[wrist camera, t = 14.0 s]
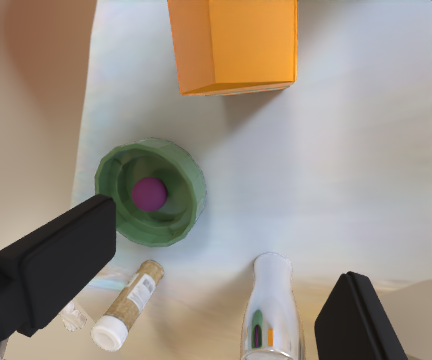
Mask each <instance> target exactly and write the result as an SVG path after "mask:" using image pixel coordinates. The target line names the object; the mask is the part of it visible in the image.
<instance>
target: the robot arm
mask: <svg viewBox="0 0 432 360" xmlns="http://www.w3.org/2000/svg"><path fill="white" fill-rule="evenodd" d="M115 252H116V203H115V202H114V200H113V198H112V197H109V196H106V195H103V194H96V195H95V196H93V197H91V198H89V199H88V200H86V201H84V202H83V203H81V204H79V205H77V206H76V207H74V208H72V209H71V210H69V211H67V212H65V213H64V214H62V215H60V216H59V217H57V218H55V219H54V220H52V221H50V222H48V223H47V224H45V225H43V226H41V227H40V228H38V229H36V230H35V231H33V232H31V233H30V234H28V235H26V236H24V237H23V238H21V239H19V240H17V241H16V242H14V243H12V244H11V245H9V246H7V247H5V248H4V249H2V250H0V360H5V359H3V355H4V352H5V349H6V345H7V342H8V338H9V336H10V335H11V334H12V333H14V332H15V331H16V330H17V332H18V333H21V334H23V335H25V336H28V337H31V336H32V335H33V334H34V333H35V332H36V331H37V330H38V329H43V328H44V327H46V326H47V325H48V324H49V323H50V322H51V321H52V319H54V318H55V317H56V316H57V315H58V313H59V312H60V311H61V310H62V309H63V308H64V307H65V306H66V305H67V304H68V303H69V302H70V301H71V300H72V299H73V298H74V297H75V296H76V295H77V294H78V293H79V292H80V291H81V290H82V289H83V288H84V287H85V286H86V285H87V284H88V283H89V282H90V281H91V280H92V279H93V278H94V277H95V276H96V275H97V273H98V272H99V271H100V270H101V269H102V268H103V267H104V266H105V265H106V264H107V263H108V262H109V261H110V260H111V259H112V258H113V257H114V255H115ZM314 330H315V337H316V344H317V350H318V357H319V360H408V358H407V356H406V354H405V352H404V350H403V348H402V346H401V344H400V342H399V340H398V338H397V336H396V333H395V331H394V330H393V327H392V325H391V323H390V321H389V319H388V317H387V315H386V313H385V311H384V309H383V306H382V304H381V303H380V300H379V298H378V296H377V294H376V292H375V290H374V288H373V286H372V284H371V282H370V280H369V278H368V277H367V276H364V275H361V274H357V273H354V272H351V271H349V272H347V273H346V274H341V276H340V277H339V279H338V281H337V283H336V285H335V286H334V288H333V290H332V292H331V294H330V295H329V297H328V299H327V301H326V303H325V304H324V306H323V308H322V310H321V312H320V313H319V315H318V317H317V319H316V321H315V326H314Z"/></svg>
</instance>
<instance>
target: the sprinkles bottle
mask: <svg viewBox="0 0 432 360" xmlns="http://www.w3.org/2000/svg"><path fill="white" fill-rule="evenodd" d="M163 275H164V271H163V269H162V267H161V266H160V265H159V264H158V263H157V262H155V261H152V260H148V261H145V262H143V263H142V265H141V267H140V268H139V270H138V271H137V272H136V274H135V275H134V276H133V277H132V278H131V280H130V281H129V282H128V284H127V285H126V286H125V287H124V289H123V290H122V292H121V293H120V294H119V296H118V297H117V299H116V300H115V301H114V302H113V304H112V305H111V307H110V308H109V309H108V311H107V312H106V313H105V314H104V315H103V316H102V317H100V318H99V320H98V321H97V322H96V324H95V325H94V326H93V328H92V329H91V337H92V340H93V341H94V342H95V343H96V344H97V345H98V346H99V347H100V348H102V349H104V350H107V351H117V350H118V349H119V348H120V347H121V346H122V344H123V343H124V341H125V339H126V338H127V335H128V332H129V330H130V329H131V327H132V325H133V324H134V322H135V320H136V319H137V317H138V316H139V315H140V313H141V311H142V310H143V308H144V307H145V305H146V303H147V302H148V300H149V298H150V297H151V295H152V293H153V292H154V290H155V287H156V286H157V284H158V283H159V281H160V280H161V279H162V277H163Z"/></svg>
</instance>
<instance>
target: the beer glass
mask: <svg viewBox="0 0 432 360" xmlns="http://www.w3.org/2000/svg"><path fill="white" fill-rule="evenodd" d="M253 273H254V285H253V288H252V291H251V294H250V297H249V300H248V303H247V306H246V309H245V313H244V317H243V323H242V331H241V343H240V360H306V346H305V336H304V330H303V324H302V320H301V316H300V312H299V309H298V306H297V303H296V300H295V297H294V294H293V291H292V286H291V283H292V276H293V268H292V265H291V263H290V261H289V260H288V259H287V258H285V257H284V256H282V255H280V254H277V253H265V254H262V255H260V256H259V257H257V258H256V260H255V261H254V264H253Z"/></svg>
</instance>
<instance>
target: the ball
mask: <svg viewBox="0 0 432 360" xmlns="http://www.w3.org/2000/svg"><path fill="white" fill-rule="evenodd" d="M167 197H168V191H167V187H166V185H165V184H164V183H163V182H162V181H161V180H160V179H158V178H155V177H145V178H142V179H141V180H139V181H138V182H137V183H136V184H135V185H134V187H133V190H132V200H133V202H134V204H135V205H136V206H137V207H138V208H139V209H141V210H143V211H147V212H152V211H156V210H158V209H160V208H161V207H162V206H163V205H164V204H165V202H166V201H167Z"/></svg>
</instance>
